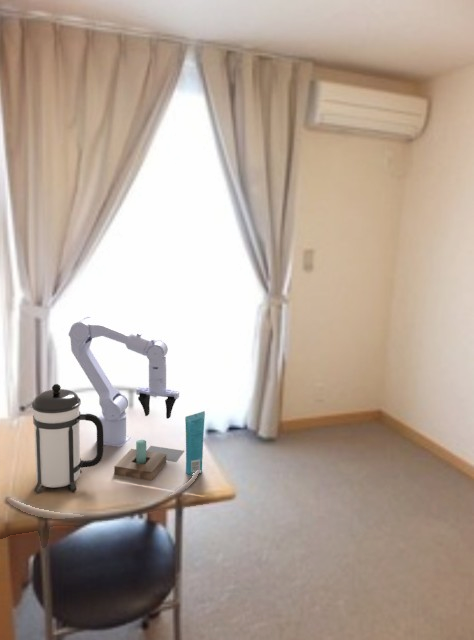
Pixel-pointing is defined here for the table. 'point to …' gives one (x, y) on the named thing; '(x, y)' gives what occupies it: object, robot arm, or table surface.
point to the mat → (167, 452)
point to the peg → (141, 452)
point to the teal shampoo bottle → (194, 442)
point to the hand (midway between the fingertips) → (157, 416)
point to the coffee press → (60, 438)
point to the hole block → (140, 465)
